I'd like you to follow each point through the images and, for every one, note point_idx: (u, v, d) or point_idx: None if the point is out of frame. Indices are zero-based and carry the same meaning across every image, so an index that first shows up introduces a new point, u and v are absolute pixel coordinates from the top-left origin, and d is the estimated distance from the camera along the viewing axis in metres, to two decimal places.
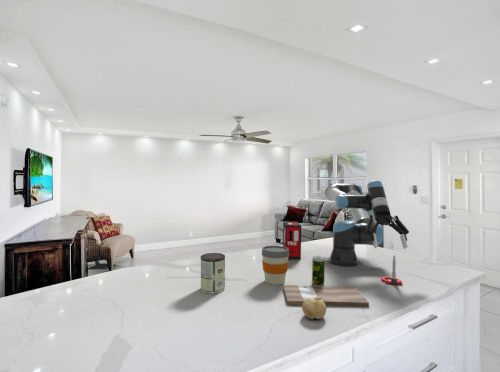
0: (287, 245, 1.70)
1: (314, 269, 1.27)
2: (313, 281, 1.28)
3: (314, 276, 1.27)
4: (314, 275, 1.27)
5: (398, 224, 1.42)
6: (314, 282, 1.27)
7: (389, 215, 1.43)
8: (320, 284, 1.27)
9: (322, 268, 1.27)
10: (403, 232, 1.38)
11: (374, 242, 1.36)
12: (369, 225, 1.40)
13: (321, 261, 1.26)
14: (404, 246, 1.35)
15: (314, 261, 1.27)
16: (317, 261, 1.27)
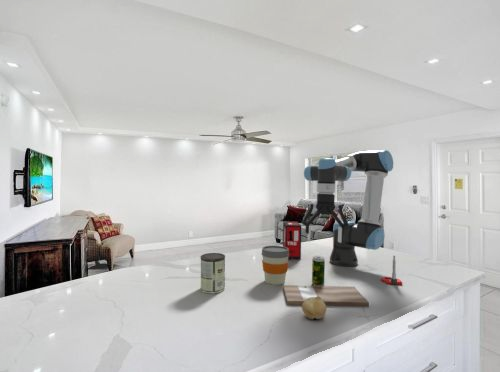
0: (287, 245, 1.70)
1: (314, 269, 1.27)
2: (313, 281, 1.28)
3: (314, 276, 1.27)
4: (314, 275, 1.27)
5: (340, 214, 1.28)
6: (314, 282, 1.27)
7: (332, 204, 1.27)
8: (320, 284, 1.27)
9: (322, 268, 1.27)
10: (342, 225, 1.27)
11: (308, 235, 1.28)
12: (307, 217, 1.27)
13: (321, 261, 1.26)
14: (338, 240, 1.28)
15: (314, 261, 1.27)
16: (317, 261, 1.27)
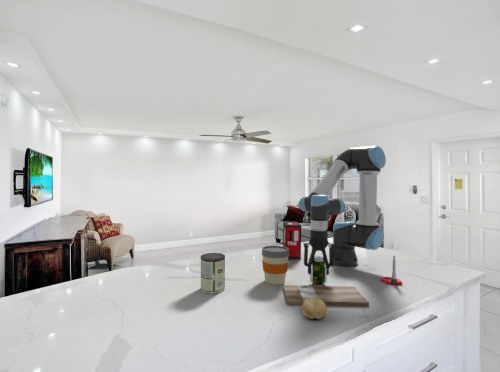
0: (287, 245, 1.70)
1: (314, 269, 1.27)
2: (313, 281, 1.28)
3: (314, 276, 1.27)
4: (314, 275, 1.27)
5: (329, 252, 1.29)
6: (314, 282, 1.27)
7: (326, 241, 1.28)
8: (320, 284, 1.27)
9: (322, 268, 1.27)
10: (327, 265, 1.28)
11: (310, 276, 1.29)
12: (306, 257, 1.28)
13: (321, 261, 1.26)
14: (324, 280, 1.29)
15: (314, 261, 1.27)
16: (317, 261, 1.27)
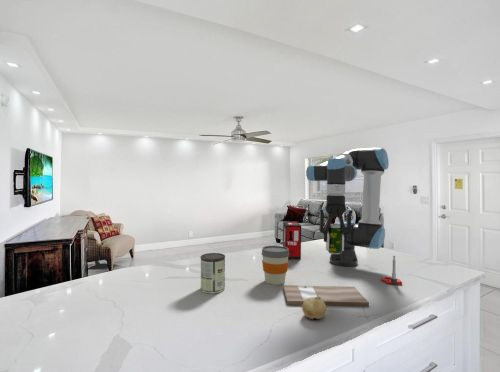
0: (287, 245, 1.70)
1: (330, 236, 1.20)
2: (329, 249, 1.21)
3: (330, 244, 1.20)
4: (330, 243, 1.20)
5: (347, 219, 1.22)
6: (330, 250, 1.20)
7: (344, 206, 1.20)
8: (337, 252, 1.19)
9: (339, 235, 1.20)
10: (344, 233, 1.20)
11: (326, 244, 1.22)
12: (322, 224, 1.21)
13: (338, 227, 1.19)
14: (341, 248, 1.22)
15: (330, 228, 1.20)
16: (334, 227, 1.20)
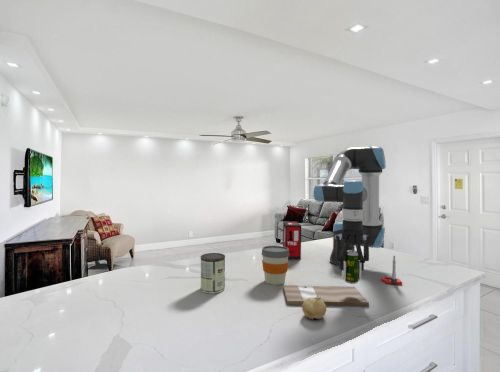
0: (287, 245, 1.70)
1: (347, 264, 1.13)
2: (346, 278, 1.14)
3: (347, 272, 1.13)
4: (347, 271, 1.13)
5: (364, 245, 1.15)
6: (347, 279, 1.13)
7: (361, 232, 1.13)
8: (354, 281, 1.12)
9: (357, 263, 1.12)
10: (361, 260, 1.13)
11: (342, 272, 1.15)
12: (338, 251, 1.13)
13: (356, 255, 1.12)
14: None
15: (347, 255, 1.13)
16: (351, 255, 1.12)
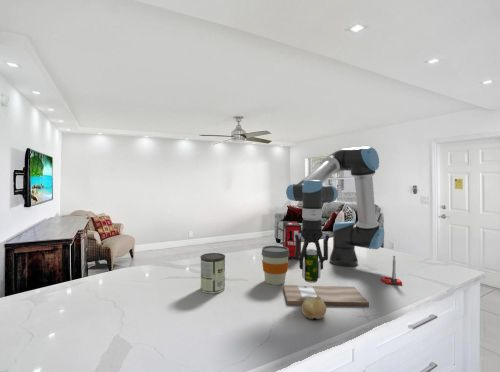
0: (287, 245, 1.70)
1: (306, 264, 1.13)
2: (305, 277, 1.14)
3: (306, 271, 1.13)
4: (306, 270, 1.13)
5: (324, 245, 1.15)
6: (306, 278, 1.13)
7: (320, 231, 1.14)
8: (313, 280, 1.13)
9: (315, 262, 1.13)
10: (320, 259, 1.14)
11: (302, 271, 1.15)
12: (297, 250, 1.14)
13: (314, 254, 1.12)
14: None
15: (306, 254, 1.13)
16: (310, 254, 1.13)
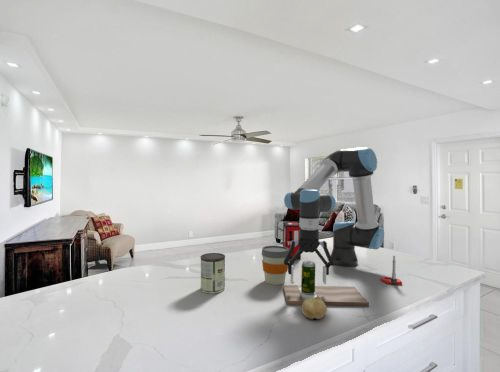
0: (287, 245, 1.70)
1: (303, 276, 1.14)
2: (302, 289, 1.14)
3: (303, 283, 1.14)
4: (303, 282, 1.14)
5: (325, 251, 1.15)
6: (303, 290, 1.14)
7: (316, 241, 1.14)
8: (310, 292, 1.13)
9: (312, 274, 1.13)
10: (326, 265, 1.14)
11: (291, 276, 1.15)
12: (288, 256, 1.14)
13: (311, 266, 1.13)
14: (323, 281, 1.15)
15: (303, 266, 1.14)
16: (307, 266, 1.13)
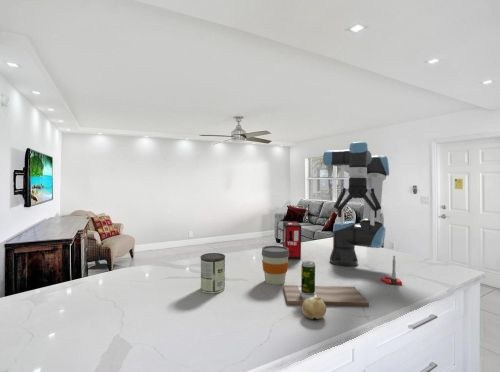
0: (287, 245, 1.70)
1: (303, 276, 1.14)
2: (302, 289, 1.14)
3: (303, 283, 1.14)
4: (303, 282, 1.14)
5: (372, 197, 1.29)
6: (303, 290, 1.14)
7: (364, 188, 1.28)
8: (310, 292, 1.13)
9: (312, 274, 1.13)
10: (374, 209, 1.28)
11: (340, 219, 1.29)
12: (339, 201, 1.28)
13: (311, 267, 1.13)
14: (371, 223, 1.29)
15: (303, 266, 1.14)
16: (307, 267, 1.13)
